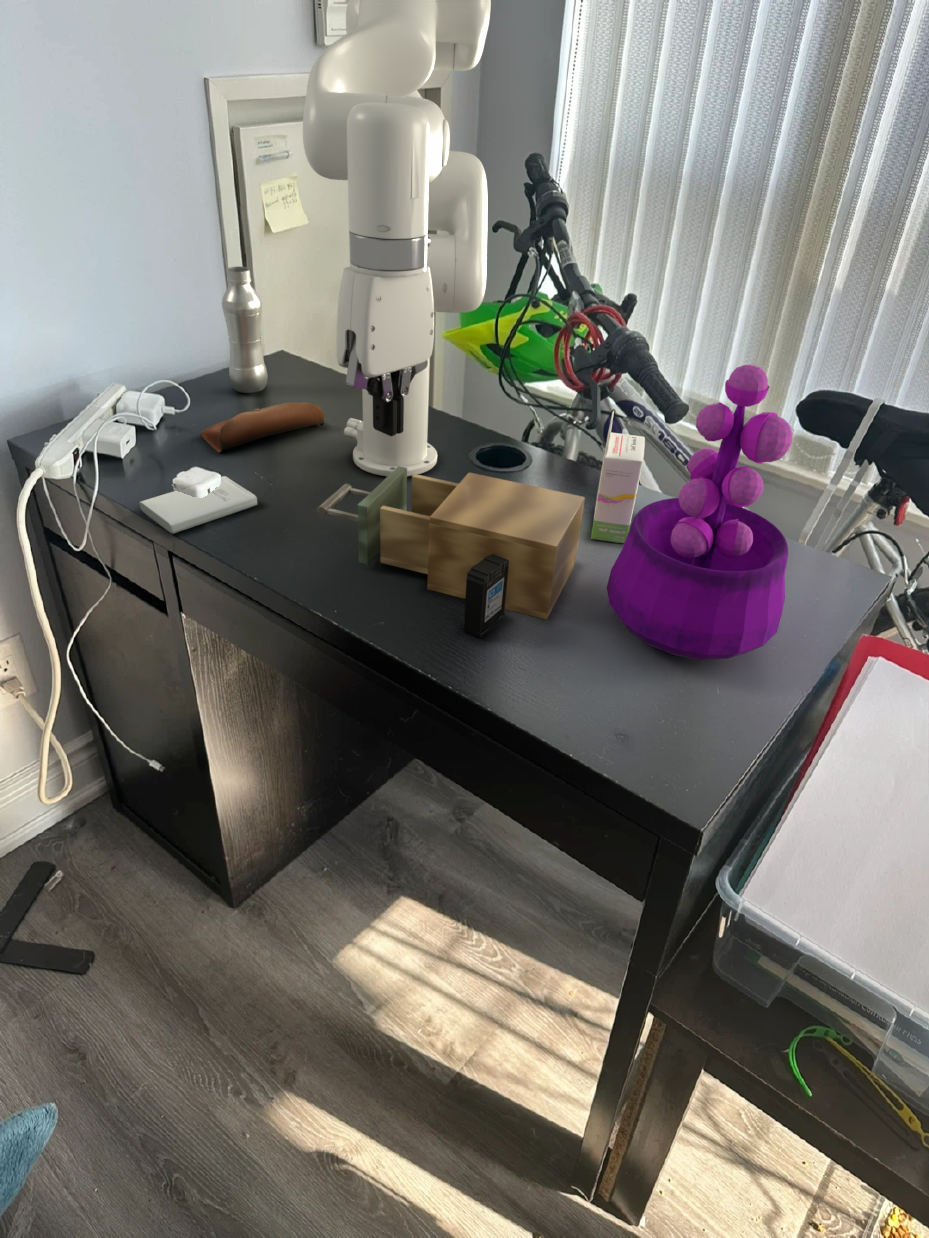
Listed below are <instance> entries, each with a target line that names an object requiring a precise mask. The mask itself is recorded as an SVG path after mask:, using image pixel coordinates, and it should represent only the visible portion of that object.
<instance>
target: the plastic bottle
mask: <svg viewBox="0 0 929 1238" xmlns="http://www.w3.org/2000/svg"><path fill="white" fill-rule="evenodd" d="M250 269H251V268H249V267H246V266H238V265H237V266H230V267H227V268H226V276H227V278H226V281H227V282H228V286H227V288H226V290H225V291H224V293H223V295H222V300H221V309H222V313H223V316H224V321H225V325H226V330H227V335H228V336H227V337H228V342H229V344H228V345H229V367H228V378H229V382H230V386H231V387H232V388H233V389H234V391H236V392H239V393H244V394H253V393H258V392H261V391H263V390H264V389H265V388H266V387H267V385H268V378H269V377H268V376H269V375H268V370H267V366H266V363H265V358H264V352H263V347H262V337H261V336H262V330H261V329H262V305H263V304H262V300H261V298H260V296H259V294H258V292H257V291H256V290H255V289H254V287H253V286H252V285H251V282H252V277H251V270H250Z"/></svg>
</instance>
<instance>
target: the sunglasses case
mask: <svg viewBox="0 0 929 1238" xmlns="http://www.w3.org/2000/svg"><path fill="white" fill-rule="evenodd" d="M324 424H325V416H324V412H323V410H322V409H321V407H320V406H319V405H317V404H316V403H313V402H298V401H297V402H296V401H295V402H285V403H278V404H274V405H270V406H265V407H262V408H253V409H252V410H251V411H244V412H241V413H237V414H236V415H235V416H233V417H232V418H229V419H226V420H223V421H220V422H218V423H216V424H212V425H209V427H207V428H205V429H203V430H202V431H201V432H200V437H201V438H202V439H203V440H204V441H205V442H206V443H207V444H208V446H210V447H211V448H212V449H213V450H215V451H216V452H217V453H222V452H223V451H224V450H229V449H232V448H237V447H239V446H241V445H245V444H248V443H250V442H254V441H257V440H259V439H262V438H267V437H271V436H276V435H280V434H283V433H286V432H289V431H291V432H292V431H295V430H300V429H303V428H308V427H312V426H316V425H319V426H321V427H323V426H324Z"/></svg>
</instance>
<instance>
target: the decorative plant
mask: <svg viewBox="0 0 929 1238" xmlns="http://www.w3.org/2000/svg"><path fill="white" fill-rule="evenodd" d="M768 383H769V378H768V375H767V372H766V371H764V369H763V368H762V367H760V366H759V365H758V366H757V365H755V364H743V365H740V366H738V367H736V368H735V369H734V370H733V371H732V372H731V373H730V375H729V378H728V379H726V380H725V382H724V392H725V395H726V398H727V399H728V400H729V401H730V402H731V403H732V404H734V405H736V407H735V409H734V412H732V410H731V408H730V406H728V405H726V404H724V403H722V402H721V401H720V402H717V403H712V404H708V405H705V406H703V407H702V408H701V409H700V410H699V412H698V414H697V416H696V422H695V428H696V430H697V432H698V433H699V434H700V435H701V436H702V437H703V438H704V440H705V441H706V442H717V441H720V440H721V441H720V444H719V448H718V450H717V449H715V448H711V447H703V448H700V449H698V450H696V451H695V452H694V453H693V454H692V455H691V457H690V458H689V460H688V462H687V471H688V473H689V478H690V480H689V481H687V482H685V483H684V484H683V485H682V487H681V488H680V490H679V493H678V497H672V498H665V499H660V500H657V501H653V502H651V503H649V504H647V505H645V506H643V507H642V508H641V509H639V510H638V512H637V513H636V514H635V516H634V517H633V518H632V521H631V524H630V529H629V532H628V535H627V538H626V540H625V543H623V546H622V548H621V550H620V551H619V554H618V556H617V558H616V560H615V561H614V563H613V565H612V566H611V569H610V572H609V576H608V580H607V583H606V594H607V601H608V605H609V606H610V608H611V609H612V610H613V612H614V613H615V614H616V616H617V617H618V619H619V620H620V621H621V623H622V624H623V625H624V627H626V629H627V630H628V631H629V632H630V633H631V634H632V635H633V636H635V637H637V638H638V639H640V640H641V641H642V642H644V643H646V644H647V645H648V646H651V647H653V648H656V649H658V650H660V651H664V652H666V653H668V654H671V655H673V656H678V657H683V658H688V659H695V660H699V661H700V660H701V661H702V660H703V661H704V660H728V659H731V658H734V657H737V656H740V655H743V654H744V655H745V654H747V653H749V652H752V651H754V650H756V649H759V648H761V647H763V646H764V645H765V644H767V642H769V641H770V640H771V639H772V638H773V637H774V636H775V635H776V634H777V633H778V630H779V626H780V622H781V619H782V615H783V610H784V606H785V601H786V570H787V564H788V559H789V545H788V541H787V539H786V537H785V536H784V534H783V532H782V531H781V530H780V529H779V528H778V527H777V526H776V525H775V524H774V523H772V522H770V521H769V520H768V519H767V518H765V517H763V516H761V515H760V514H758V513H757V512H754V511H751V510H749V509H747V507H749V506H751V505H753V504H754V503H755V502H756V501H758V500H759V498H760V497H761V496H762V494H763V491H764V489H765V487H764V480H763V479H762V477H761V475H760V473H758V472H757V470H755V469H753V468H751V467H749V466H747V465H745V466H742V465H741V466H738V463H739V459H740V455H741V452H742V454H743V455H744V456H745V457H746V458H747V460H749V461H752V462H754V463H755V464H759V465H763V464H764V463H774V462H776V461H780V460H781V459H782V458H783V457H784V456H785V455H786V454H787V453H788V452H789V450H790V448H791V446H792V443H793V436H794V435H793V434H794V432H793V429H792V427H791V424H789V422H788V421H787V420H786V419H785V418H783V417H780V416H779V415H778V413H776V412H773V411H771V412H770V411H767V412H766V411H762V412H760V413H757V414H755V415H753V416H752V417H750V419H748V420H747V421H746V422H745V413H746V408H749V407H752V406H755V405H758V404H759V405H760V404H761V402H762V401H763V400H765V398H766V396H767V395H768V392H769V389H770V386H769V384H768Z"/></svg>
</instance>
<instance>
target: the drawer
mask: <svg viewBox="0 0 929 1238" xmlns="http://www.w3.org/2000/svg"><path fill="white" fill-rule="evenodd" d="M458 484H459V483H457V482H453V481H449V480H445V479H439V478H435V477H430V476H427V475H421V474H418V475H417V474H414V475H413V476H411V511H408V510H407V498H408V494H407V493H408V492H407V491H408V490H407V489H408V476H407V468H404V467H400V466H398V467H397V468H396V469H395V470H394V471H393V472H392V473H391V474H390V475H389V476H386V477H385V478H384V479H383V480H382V481H381V482H380V483H379V484H377V486H376V487H375V488H374V489H373V490H372V491H367V490H363V489H357V488H354V487H352V485H351V484H350V483H344V484H343V485H341V487H339V489H337V490H335V492H334V493H332V494H331V495H330V496H329V497H328V498H327V499H326V500H324V501H323V502H322V503H321V504H320V505H319V506H318V507H317V508H316V513H317V514H318V516H320V517H326V516H327V515H328V516H333V517H336V518H340V519H344V520H349V521H354V522H357V536H358V540H357V541H358V563H359V564H363V565H366V566H369V565H370V563H371V562H372V561H374V559H375V558H376V557H377V556H378V554H379V553H380V554H379V555H380V556H379V557H380V562H379V563H381V564H385V565H388V566H393V567H397V568H400V569H405V570H409V571H413V572H417V573H421V574H425V575H428V553H429V524H430V523H429V521H430V516H431V515H432V514H433V513H434V512H435V511H436V509H437V508H438V507H439V506H440V505H441V504H442V503H443V501H444V500H445V499H446V498H447V497H448V496H449V495H450V493H451V492H452V491H453V490H454V489H455V488H456V487H457V485H458ZM349 495H353V496H357V497H362V498H363V499H362V500H361V501H360V502H359V503H358V504H357V514H356V513H351V512H347V511H343V510H339V509H335V508H336V507H337V506H338V505H339V504H340V503H341V502H342V501H343V500H344V499H346V498H347V497H348V496H349Z"/></svg>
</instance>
